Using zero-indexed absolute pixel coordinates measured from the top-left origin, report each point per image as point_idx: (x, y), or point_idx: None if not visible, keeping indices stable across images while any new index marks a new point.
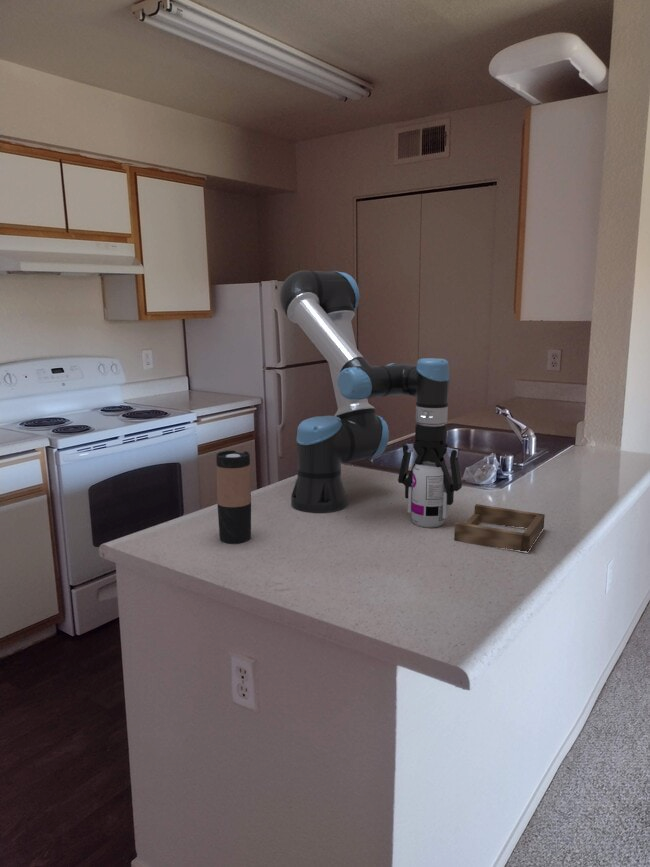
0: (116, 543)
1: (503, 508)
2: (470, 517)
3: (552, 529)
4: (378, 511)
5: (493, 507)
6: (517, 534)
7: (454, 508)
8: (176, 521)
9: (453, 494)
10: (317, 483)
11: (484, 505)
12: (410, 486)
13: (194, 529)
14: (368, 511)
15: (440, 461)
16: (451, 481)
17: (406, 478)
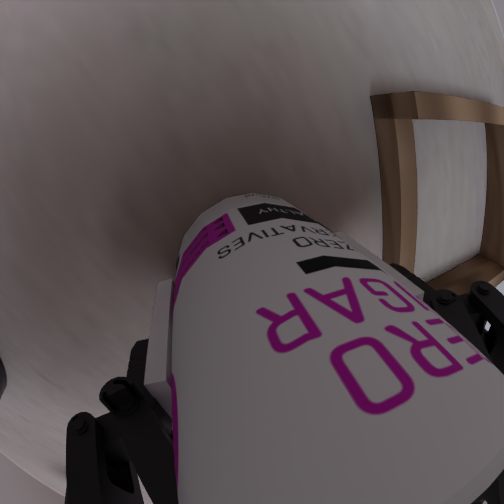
0: (64, 495)
1: (477, 103)
2: (401, 179)
3: (493, 92)
4: (32, 287)
5: (461, 108)
6: (497, 284)
7: (230, 11)
8: (13, 462)
9: (429, 288)
10: None
11: (438, 96)
12: (170, 414)
13: (43, 473)
14: (21, 309)
15: (490, 495)
16: (471, 334)
17: (116, 444)
